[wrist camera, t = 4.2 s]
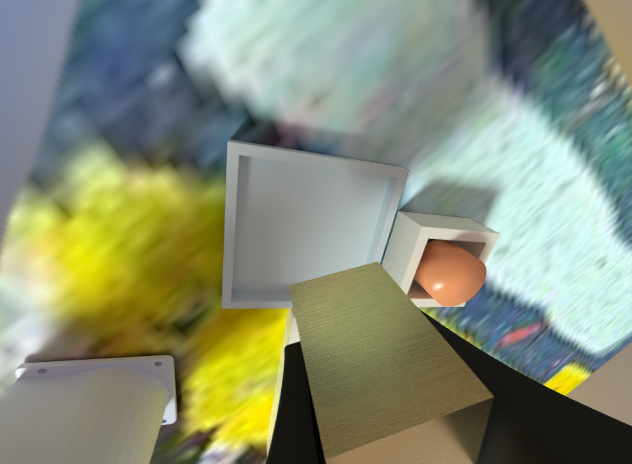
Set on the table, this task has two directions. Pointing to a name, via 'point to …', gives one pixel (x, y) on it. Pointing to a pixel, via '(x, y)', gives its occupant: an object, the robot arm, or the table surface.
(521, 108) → the table surface
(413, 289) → the button housing
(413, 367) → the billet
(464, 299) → the button
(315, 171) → the tray
